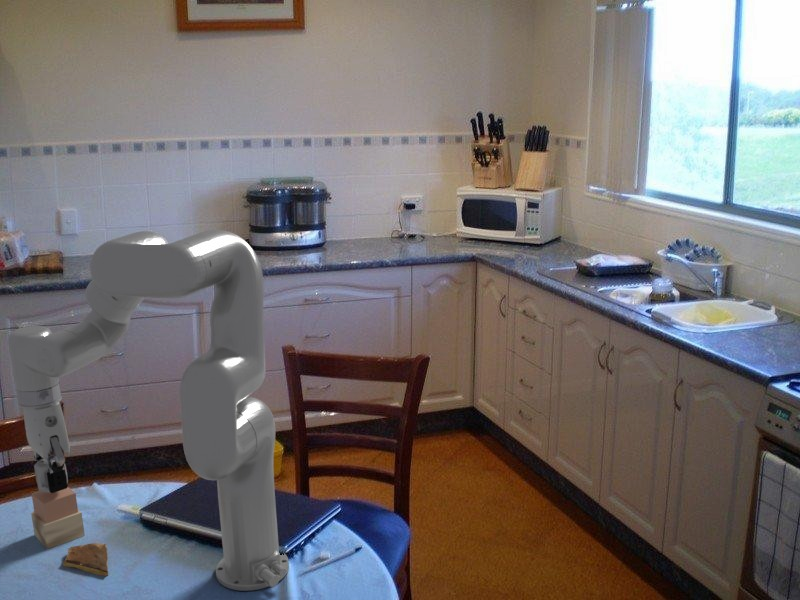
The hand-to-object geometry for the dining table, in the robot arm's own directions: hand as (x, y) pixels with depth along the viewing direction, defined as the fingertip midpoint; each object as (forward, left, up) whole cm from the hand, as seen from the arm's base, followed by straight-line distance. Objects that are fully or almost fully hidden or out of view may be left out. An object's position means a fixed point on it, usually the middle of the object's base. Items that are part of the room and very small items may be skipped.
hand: (52, 483), depth 163 cm
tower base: (0, 0, -11) cm, 11 cm away
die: (0, 0, -1) cm, 1 cm away
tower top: (0, 0, -6) cm, 6 cm away
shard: (-13, -2, -12) cm, 18 cm away
